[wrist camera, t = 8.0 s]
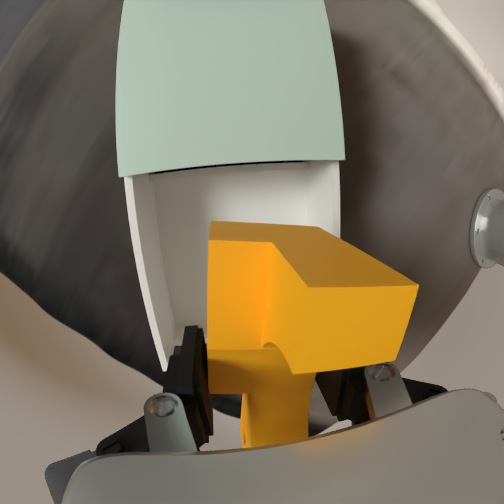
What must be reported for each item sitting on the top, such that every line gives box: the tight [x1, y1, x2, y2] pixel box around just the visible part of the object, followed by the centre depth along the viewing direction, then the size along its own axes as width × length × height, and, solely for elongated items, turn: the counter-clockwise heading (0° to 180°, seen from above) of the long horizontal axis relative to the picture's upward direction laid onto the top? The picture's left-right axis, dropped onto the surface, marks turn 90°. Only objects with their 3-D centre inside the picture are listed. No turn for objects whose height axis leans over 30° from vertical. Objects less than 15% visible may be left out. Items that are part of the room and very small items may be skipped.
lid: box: [116, 0, 345, 177], centre depth 14 cm, size 15×16×3 cm
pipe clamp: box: [207, 221, 419, 448], centre depth 9 cm, size 12×4×6 cm, turn 176°
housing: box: [124, 160, 340, 371], centre depth 21 cm, size 15×32×7 cm, turn 4°
